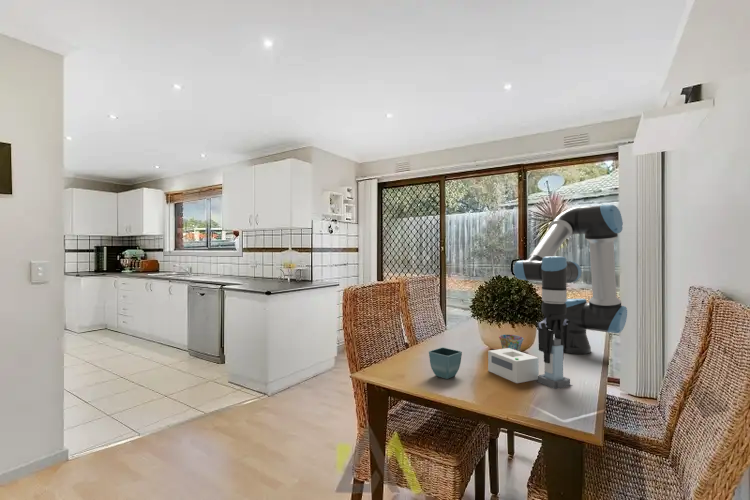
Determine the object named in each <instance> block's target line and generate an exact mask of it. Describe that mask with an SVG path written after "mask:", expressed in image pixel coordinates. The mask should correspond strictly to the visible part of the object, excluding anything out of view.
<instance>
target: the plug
mask: <svg viewBox="0 0 750 500" xmlns="http://www.w3.org/2000/svg"><path fill="white" fill-rule="evenodd" d="M551 353H552V354H553V374H551V373H548V372H545V371H544V374H545V378H548V379H550V380H553V381H558V380H563V377H564V360H563V345H561V339H558V338H555V336H553V343H552V350H551Z"/></svg>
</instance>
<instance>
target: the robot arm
mask: <svg viewBox="0 0 750 500" xmlns="http://www.w3.org/2000/svg"><path fill="white" fill-rule="evenodd" d="M623 223H624V222H623V216H622V213H621V211H620V209H619V208H618V206H616V205H614V204H599V205H598V204H597V205H588V206H587V205H586V206H576V207H571V208H569V209H566V210H564V211H563V212H561V213H560V214H558V215H557V216H556V217H555V218H554V219H553V220H552V221H551V222H550V224H548V230H547V231H546V233H545V234H544V235H543V237H542V238H541V239H540V241H539V242H538V244H537V245H536V246H535V248H534V249H533V250H532V252H531V253H530V254H529V256H528V257H527V258H526V259H525V260H524V259H522V260H517V261H516V262H515V263H514V266H513V273H514V276H515V278H516V279H518V280H523V281H527V282H528V281H529V282H530V281H533V282H534V281H535V282H541V300H542V302H541V313H543V318H542V320H541V321H537V322H536V326H537V329H538V330H537V333H538V334H537V335H538V337H537V338H538V350H539V352H542V353H543V362H544V373H545V372H548V373H551V374H553V354H552V353H551V350H552V343H553V337H554V338H558V339H561V345H563V361H564V360H565V357H564V355H565V354H573V355H574V354H575V355H588V354H590V353H591V352H592V351H591V345H590V341H589V339H588V336H587V330H591V331H597V332H605V333H609V334H610V333H612V334H620V333H621V332H623V330H624V329H625V326H626V323H627V319H628V318H627V317H628V309H627V307H626V306H625V305H622V300H621V299H619V297H617V282H616V281H617V280H616V263H615V245H614V244H615V243H614V241H615V240H616V239H617V238H618V237H619V236H618V234H620V233H621V232H622V231H623ZM572 235H584V238H585V240H586V241H587V242H588V243H589V257H590V271H591V272H590V273H591V287H592V290H591V291H592V297H590V299H589V300H588V302H587V299H586V298H568V296H567V294H568V293H567V283H569V284H571V283H574V282H576V281H578V280H579V279H580V278H581V276H582V268H581V265H579V264H578V263H577V262H576V261H575V262H574V261H571V260H570V261H569V260H567V258H566V257H565V256H556V253H557V252H558V251H559V249H560V248H561V247H562V245H563V243H564V242H565V240H567V239H569V238H570V237H572Z"/></svg>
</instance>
